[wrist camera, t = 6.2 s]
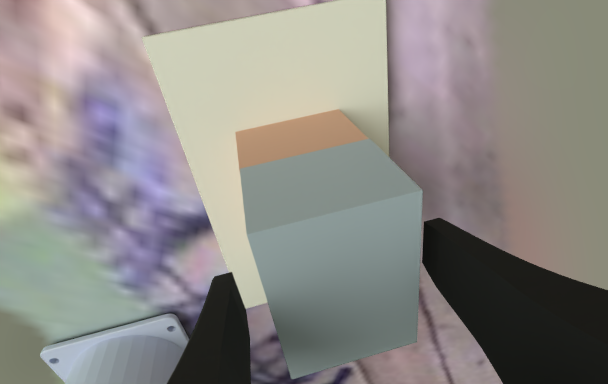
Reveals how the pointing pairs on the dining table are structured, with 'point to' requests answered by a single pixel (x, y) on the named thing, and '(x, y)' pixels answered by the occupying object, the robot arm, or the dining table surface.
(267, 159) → the terracotta brick
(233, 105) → the baseboard
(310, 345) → the slate brick
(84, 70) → the dining table surface
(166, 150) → the dining table surface
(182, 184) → the dining table surface
